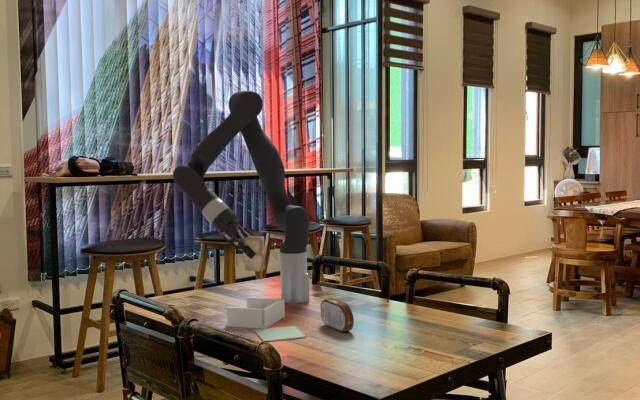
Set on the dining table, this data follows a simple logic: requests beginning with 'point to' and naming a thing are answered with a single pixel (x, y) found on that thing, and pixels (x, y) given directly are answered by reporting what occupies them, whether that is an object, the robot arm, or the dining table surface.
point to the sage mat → (280, 333)
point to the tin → (337, 314)
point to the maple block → (259, 259)
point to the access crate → (256, 313)
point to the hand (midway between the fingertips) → (256, 255)
